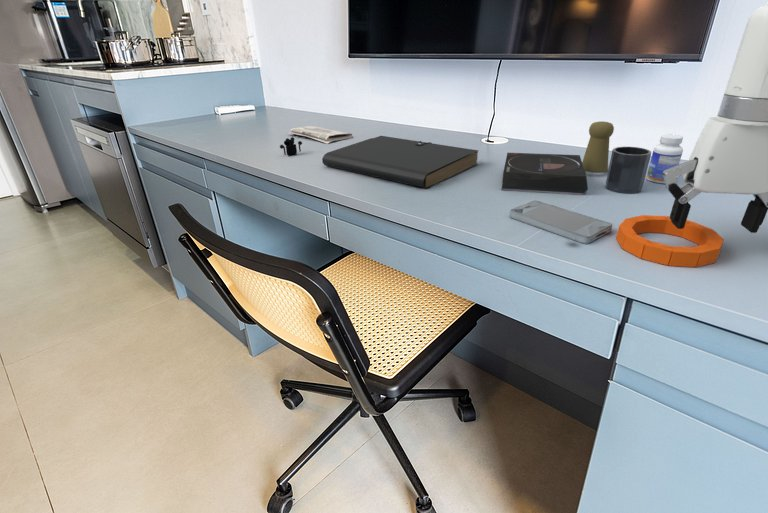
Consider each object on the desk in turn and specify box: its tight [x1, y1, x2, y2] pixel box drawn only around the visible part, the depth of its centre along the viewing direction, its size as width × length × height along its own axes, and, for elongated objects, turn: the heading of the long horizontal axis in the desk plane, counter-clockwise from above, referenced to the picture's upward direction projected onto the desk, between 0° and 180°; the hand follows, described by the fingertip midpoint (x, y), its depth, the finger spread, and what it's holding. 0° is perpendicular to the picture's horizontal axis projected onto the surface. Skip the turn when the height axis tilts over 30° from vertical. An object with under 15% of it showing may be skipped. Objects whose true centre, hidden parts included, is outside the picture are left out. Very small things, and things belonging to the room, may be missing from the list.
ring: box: [616, 214, 724, 268], centre depth 68 cm, size 14×14×2 cm
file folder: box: [322, 135, 479, 189], centre depth 113 cm, size 33×4×24 cm
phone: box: [509, 200, 613, 245], centre depth 78 cm, size 8×16×1 cm, turn 37°
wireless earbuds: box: [279, 136, 303, 157], centre depth 128 cm, size 7×2×5 cm, turn 126°
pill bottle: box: [646, 133, 684, 185], centre depth 94 cm, size 5×5×10 cm
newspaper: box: [287, 125, 353, 145], centre depth 150 cm, size 23×12×2 cm, turn 43°
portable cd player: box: [501, 152, 588, 196], centre depth 98 cm, size 16×17×4 cm
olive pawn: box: [582, 121, 615, 173], centre depth 103 cm, size 6×6×11 cm
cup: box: [604, 146, 652, 194], centre depth 91 cm, size 7×7×8 cm
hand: (711, 227), depth 66 cm, fingers open, 9 cm apart
